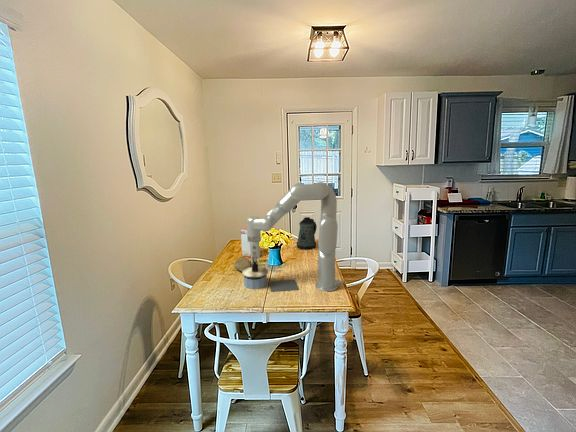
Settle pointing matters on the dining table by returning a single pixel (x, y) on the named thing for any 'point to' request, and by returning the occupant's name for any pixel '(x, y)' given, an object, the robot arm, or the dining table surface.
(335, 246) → the robot arm
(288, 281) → the mat
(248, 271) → the lid
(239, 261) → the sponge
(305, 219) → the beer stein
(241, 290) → the dining table surface
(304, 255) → the dining table surface
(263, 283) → the cup
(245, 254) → the cracker box
